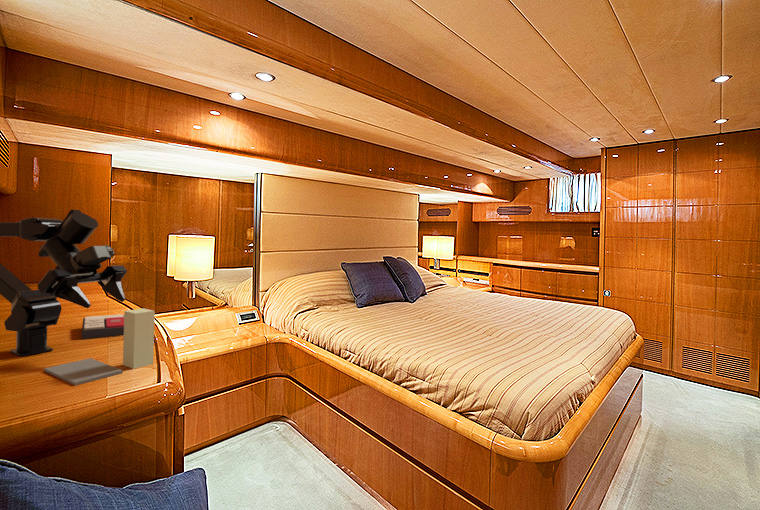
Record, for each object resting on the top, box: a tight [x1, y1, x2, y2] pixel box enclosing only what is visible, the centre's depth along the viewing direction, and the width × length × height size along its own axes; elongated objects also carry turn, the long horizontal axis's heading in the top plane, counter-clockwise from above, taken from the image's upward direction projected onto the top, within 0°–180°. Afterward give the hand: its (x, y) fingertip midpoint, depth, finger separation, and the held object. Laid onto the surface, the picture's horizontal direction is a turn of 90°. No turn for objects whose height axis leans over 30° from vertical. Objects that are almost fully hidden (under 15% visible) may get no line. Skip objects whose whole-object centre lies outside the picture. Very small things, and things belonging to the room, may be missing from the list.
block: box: [122, 307, 156, 370], centre depth 90 cm, size 4×4×13 cm
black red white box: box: [81, 313, 124, 340], centre depth 117 cm, size 11×4×15 cm
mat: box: [43, 357, 124, 386], centre depth 84 cm, size 14×9×1 cm, turn 62°
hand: (107, 303), depth 91 cm, fingers open, 9 cm apart
